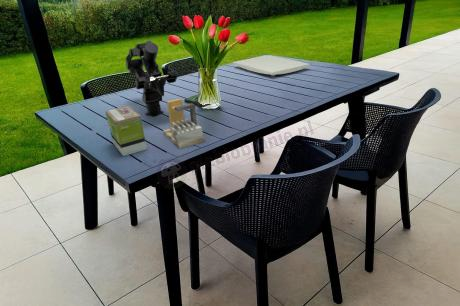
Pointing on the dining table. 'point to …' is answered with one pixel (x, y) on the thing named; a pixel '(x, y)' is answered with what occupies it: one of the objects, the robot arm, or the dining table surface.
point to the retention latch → (173, 114)
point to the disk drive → (194, 101)
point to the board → (271, 65)
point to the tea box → (126, 130)
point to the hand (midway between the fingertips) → (163, 95)
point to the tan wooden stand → (185, 129)
